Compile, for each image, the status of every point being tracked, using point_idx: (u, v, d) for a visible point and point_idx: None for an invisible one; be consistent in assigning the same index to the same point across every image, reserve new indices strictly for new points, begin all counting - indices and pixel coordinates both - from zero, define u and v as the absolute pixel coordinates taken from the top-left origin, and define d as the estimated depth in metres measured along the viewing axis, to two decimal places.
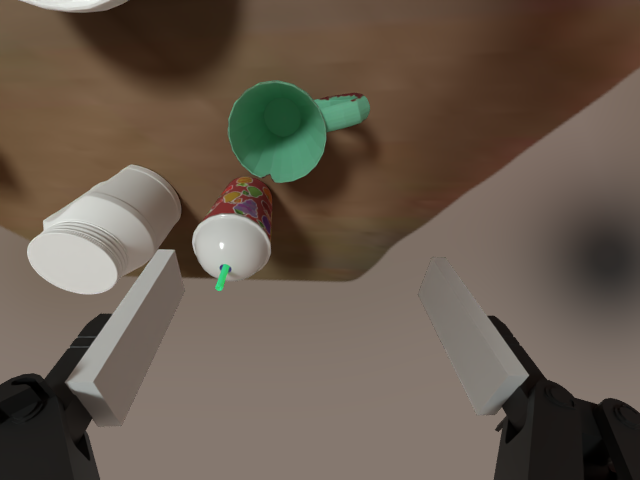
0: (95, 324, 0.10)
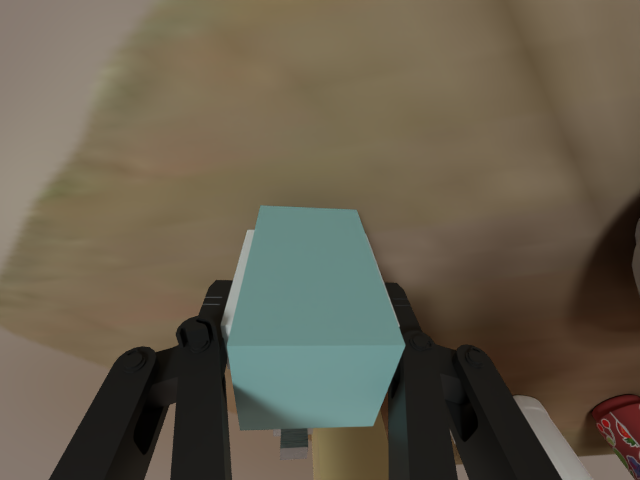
0: (215, 288, 0.13)
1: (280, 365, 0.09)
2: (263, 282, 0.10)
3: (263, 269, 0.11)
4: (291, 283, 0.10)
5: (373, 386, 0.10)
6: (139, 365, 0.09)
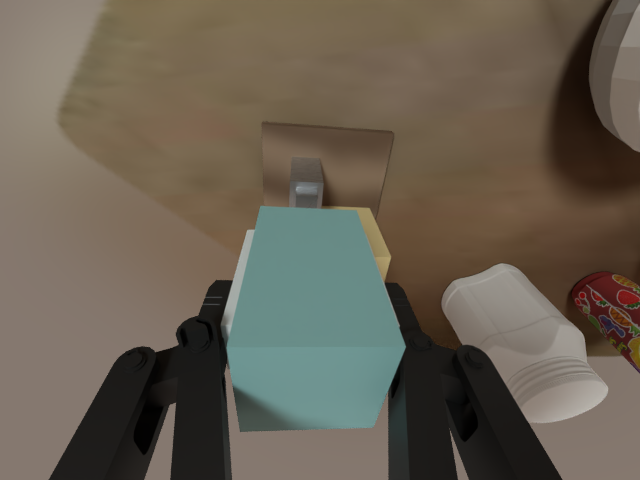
0: (215, 288, 0.13)
1: (280, 366, 0.09)
2: (263, 283, 0.10)
3: (263, 270, 0.11)
4: (291, 284, 0.10)
5: (373, 387, 0.10)
6: (139, 365, 0.09)
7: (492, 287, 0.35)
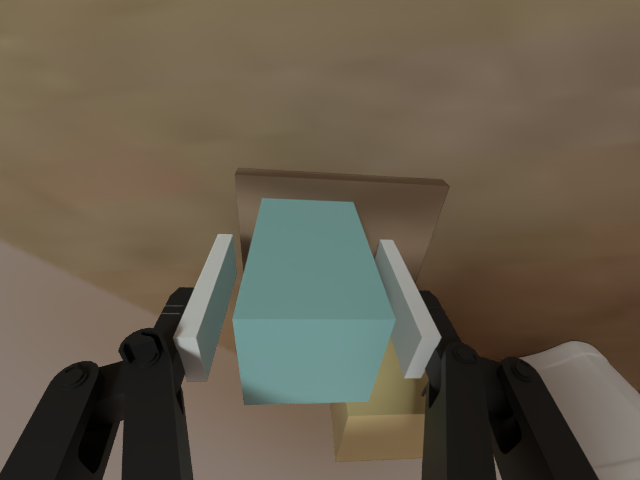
0: (177, 296, 0.12)
1: (281, 339, 0.09)
2: (265, 265, 0.11)
3: (265, 254, 0.12)
4: (291, 266, 0.11)
5: (367, 360, 0.10)
6: (80, 381, 0.08)
7: (565, 379, 0.26)
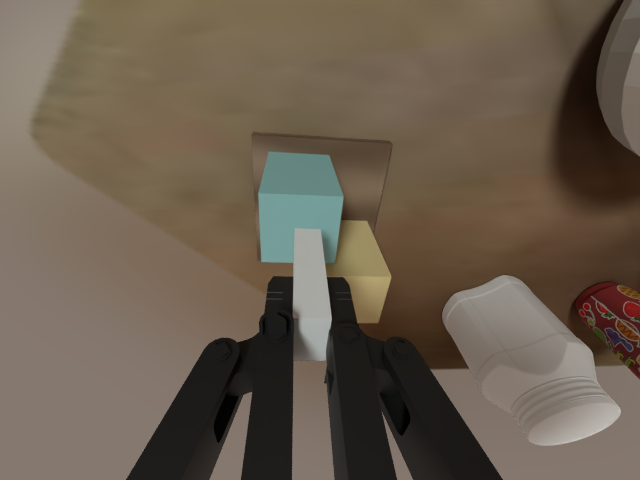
0: (274, 284, 0.13)
1: (283, 208, 0.18)
2: (273, 177, 0.19)
3: (273, 173, 0.20)
4: (288, 178, 0.19)
5: (331, 227, 0.19)
6: (225, 356, 0.09)
7: (495, 301, 0.34)
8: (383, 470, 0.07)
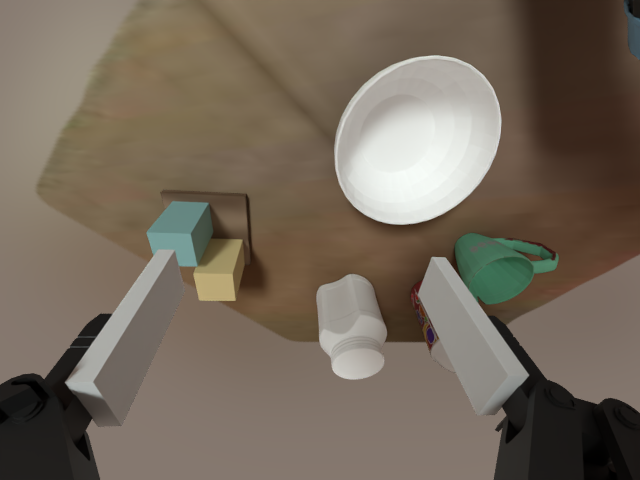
0: (95, 324, 0.10)
1: (161, 239, 0.35)
2: (161, 221, 0.37)
3: (163, 219, 0.37)
4: (169, 222, 0.37)
5: (189, 248, 0.36)
6: None
7: (340, 291, 0.52)
8: None
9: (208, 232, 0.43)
